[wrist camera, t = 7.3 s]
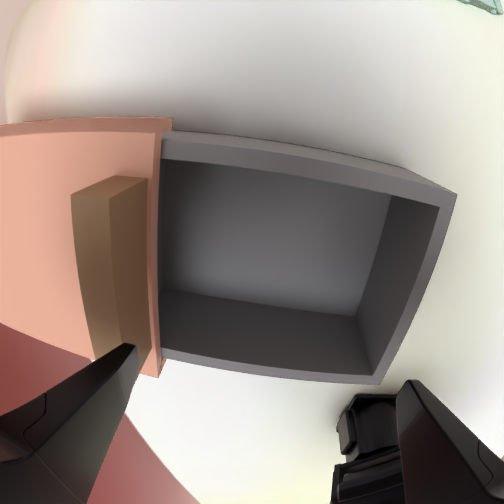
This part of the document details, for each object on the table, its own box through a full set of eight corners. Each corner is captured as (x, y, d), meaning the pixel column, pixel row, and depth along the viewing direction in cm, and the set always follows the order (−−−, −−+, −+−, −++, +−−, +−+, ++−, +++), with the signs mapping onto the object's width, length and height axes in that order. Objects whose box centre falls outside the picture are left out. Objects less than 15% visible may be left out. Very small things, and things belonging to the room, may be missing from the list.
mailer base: (404, 168, 18) (457, 194, 12) (359, 319, 23) (379, 384, 17) (161, 129, 18) (107, 137, 12) (157, 289, 23) (120, 346, 17)
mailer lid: (173, 117, 13) (117, 120, 8) (167, 356, 18) (141, 419, 14) (-31, 130, 13) (-85, 145, 8) (-6, 300, 19) (-43, 334, 14)
